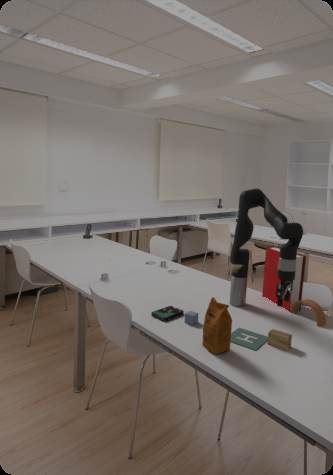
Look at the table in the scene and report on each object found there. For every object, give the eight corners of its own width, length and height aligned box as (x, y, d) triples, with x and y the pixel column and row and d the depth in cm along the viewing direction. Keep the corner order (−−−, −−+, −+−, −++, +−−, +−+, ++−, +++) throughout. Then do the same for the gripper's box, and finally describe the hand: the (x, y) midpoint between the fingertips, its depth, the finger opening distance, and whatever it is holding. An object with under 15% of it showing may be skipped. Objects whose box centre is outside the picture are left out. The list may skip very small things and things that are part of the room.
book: (300, 310, 204) (306, 255, 198) (288, 311, 201) (294, 256, 195) (271, 294, 229) (275, 245, 223) (260, 295, 226) (264, 246, 220)
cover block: (271, 340, 165) (272, 328, 164) (290, 346, 160) (292, 334, 159) (267, 344, 162) (268, 332, 160) (286, 350, 156) (288, 338, 155)
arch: (297, 311, 202) (299, 294, 200) (325, 325, 184) (328, 307, 183) (289, 312, 200) (291, 295, 198) (317, 326, 182) (319, 308, 180)
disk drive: (170, 310, 199) (150, 316, 189) (170, 305, 199) (151, 311, 188) (183, 315, 192) (164, 322, 182) (184, 310, 192) (164, 317, 181)
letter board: (239, 328, 177) (239, 327, 177) (269, 338, 167) (269, 337, 167) (223, 339, 165) (223, 338, 164) (255, 350, 155) (255, 349, 155)
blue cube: (189, 319, 186) (190, 310, 185) (197, 322, 183) (198, 313, 182) (184, 322, 182) (184, 313, 181) (192, 325, 179) (193, 316, 178)
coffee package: (217, 339, 164) (220, 294, 160) (233, 352, 153) (236, 303, 149) (198, 343, 160) (201, 297, 156) (213, 356, 149) (216, 307, 145)
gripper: (283, 263, 162) (280, 297, 165) (272, 269, 151) (268, 305, 154) (300, 266, 157) (297, 301, 160) (289, 273, 146) (286, 310, 149)
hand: (283, 303), depth 157 cm, fingers open, 8 cm apart
